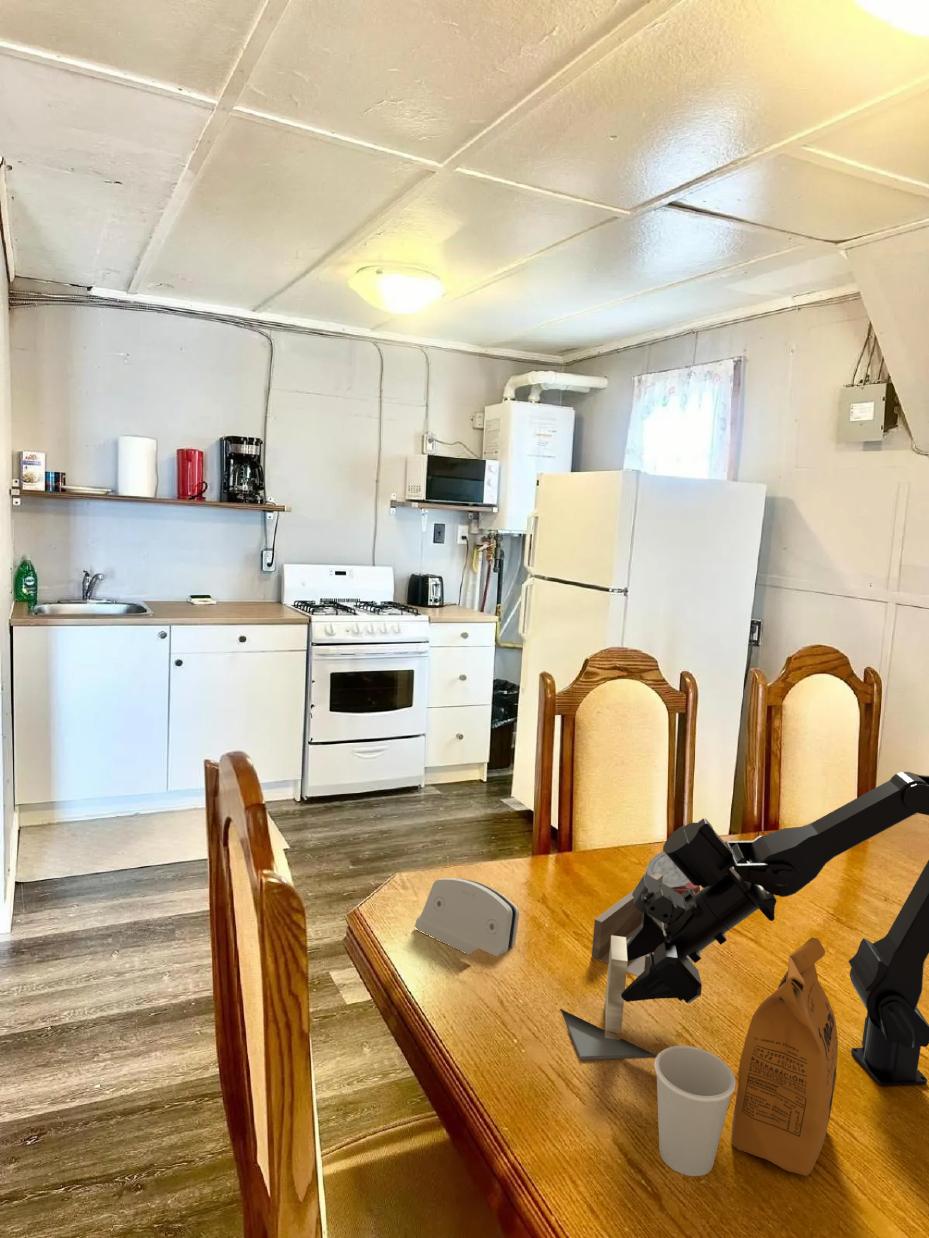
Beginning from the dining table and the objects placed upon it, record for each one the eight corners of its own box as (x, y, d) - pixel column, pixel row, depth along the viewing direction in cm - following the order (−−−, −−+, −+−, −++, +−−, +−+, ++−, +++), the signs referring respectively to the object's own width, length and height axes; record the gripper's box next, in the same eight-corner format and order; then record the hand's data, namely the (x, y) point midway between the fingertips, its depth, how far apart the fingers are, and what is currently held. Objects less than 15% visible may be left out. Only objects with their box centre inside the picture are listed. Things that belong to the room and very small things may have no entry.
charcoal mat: (671, 1056, 103) (672, 1053, 103) (580, 1059, 102) (580, 1056, 101) (639, 999, 115) (640, 996, 115) (557, 1001, 113) (557, 998, 113)
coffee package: (842, 1127, 93) (866, 947, 90) (811, 1195, 83) (836, 996, 80) (755, 1085, 99) (774, 916, 96) (717, 1144, 89) (737, 958, 86)
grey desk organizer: (720, 938, 133) (725, 895, 132) (664, 997, 116) (669, 948, 115) (652, 913, 140) (656, 872, 139) (590, 965, 123) (594, 919, 122)
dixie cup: (694, 1118, 93) (702, 1038, 91) (743, 1175, 85) (753, 1088, 84) (631, 1135, 90) (639, 1052, 88) (676, 1195, 82) (686, 1106, 81)
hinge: (411, 928, 131) (428, 866, 132) (429, 927, 134) (444, 867, 136) (496, 968, 121) (513, 901, 122) (512, 965, 125) (528, 900, 126)
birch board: (619, 1012, 111) (625, 937, 109) (620, 1039, 105) (627, 960, 104) (604, 1010, 111) (611, 935, 110) (604, 1037, 105) (611, 958, 104)
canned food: (695, 926, 146) (708, 892, 141) (639, 913, 148) (650, 879, 142) (695, 875, 155) (707, 842, 150) (642, 863, 157) (652, 829, 151)
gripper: (666, 834, 113) (581, 899, 116) (681, 895, 95) (580, 971, 98) (719, 894, 113) (633, 957, 116) (744, 967, 95) (641, 1040, 98)
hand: (621, 977), depth 107 cm, fingers open, 9 cm apart
